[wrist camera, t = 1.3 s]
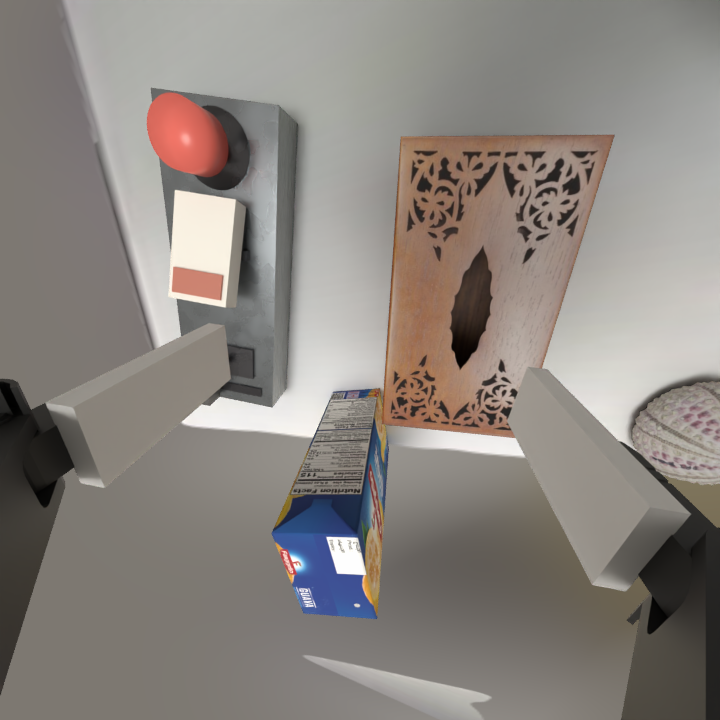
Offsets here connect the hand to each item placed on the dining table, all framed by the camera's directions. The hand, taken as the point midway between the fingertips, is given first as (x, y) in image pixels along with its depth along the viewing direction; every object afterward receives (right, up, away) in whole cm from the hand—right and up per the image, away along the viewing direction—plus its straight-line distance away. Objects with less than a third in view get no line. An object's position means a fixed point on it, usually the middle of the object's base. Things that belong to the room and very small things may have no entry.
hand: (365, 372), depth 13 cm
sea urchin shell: (+41, -7, +25) cm, 48 cm away
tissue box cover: (+11, +9, +22) cm, 26 cm away
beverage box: (0, -9, +31) cm, 33 cm away
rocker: (-15, +11, +16) cm, 25 cm away
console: (-15, +12, +24) cm, 31 cm away
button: (-14, +19, +13) cm, 27 cm away
